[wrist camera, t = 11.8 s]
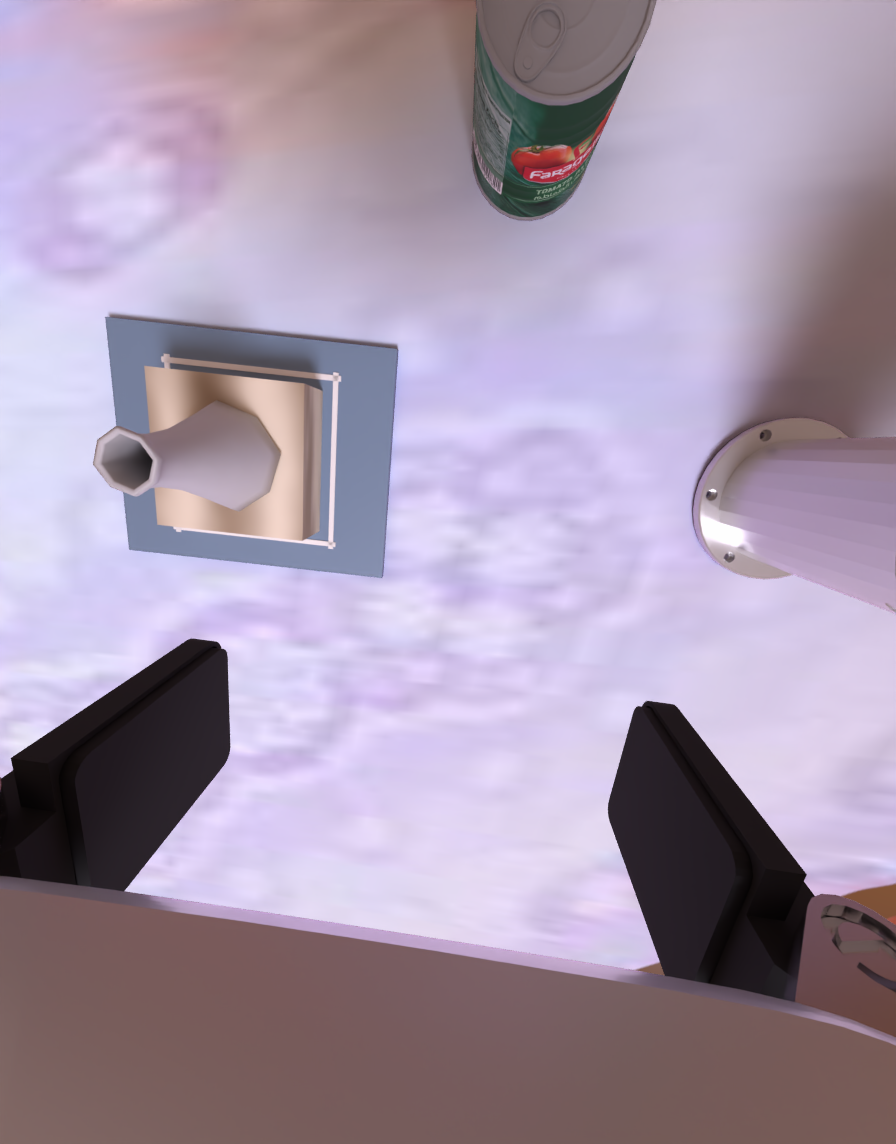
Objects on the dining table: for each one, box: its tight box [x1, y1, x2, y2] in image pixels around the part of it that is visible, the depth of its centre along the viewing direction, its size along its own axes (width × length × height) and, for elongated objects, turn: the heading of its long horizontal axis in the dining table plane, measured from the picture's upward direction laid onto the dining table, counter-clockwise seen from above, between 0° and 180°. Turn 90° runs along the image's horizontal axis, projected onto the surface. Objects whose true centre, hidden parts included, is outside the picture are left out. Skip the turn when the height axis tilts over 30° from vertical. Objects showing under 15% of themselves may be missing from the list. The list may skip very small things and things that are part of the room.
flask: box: [93, 400, 281, 512], centre depth 26 cm, size 7×7×10 cm
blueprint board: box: [105, 317, 398, 578], centre depth 35 cm, size 22×18×1 cm
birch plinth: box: [144, 366, 323, 541], centre depth 33 cm, size 11×11×4 cm
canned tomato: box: [472, 0, 656, 221], centre depth 24 cm, size 8×8×11 cm
